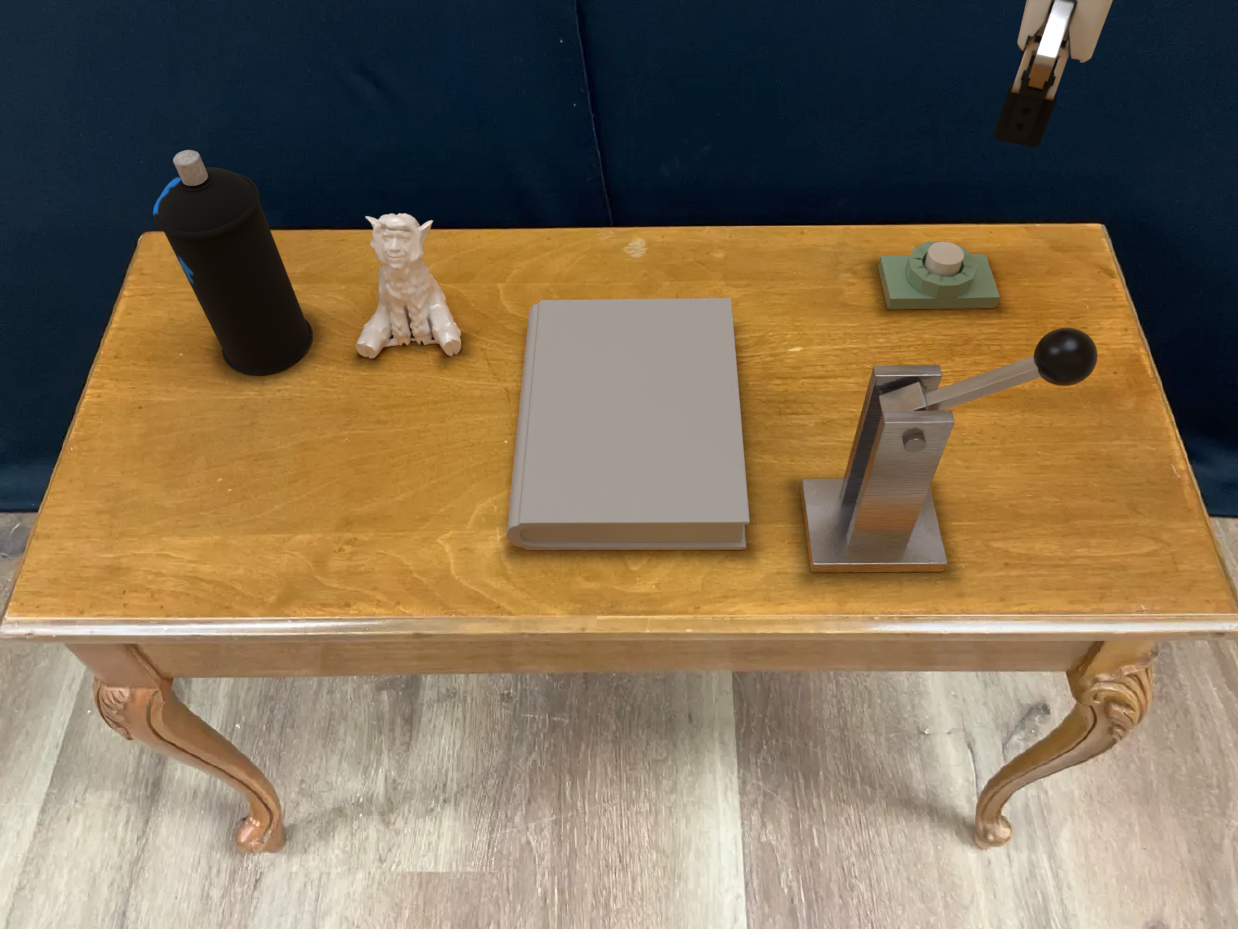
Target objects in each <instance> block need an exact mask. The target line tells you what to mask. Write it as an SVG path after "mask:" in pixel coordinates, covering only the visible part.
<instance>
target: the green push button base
mask: <svg viewBox="0 0 1238 929" xmlns="http://www.w3.org/2000/svg"><path fill="white" fill-rule="evenodd" d="M936 242H948V241H946V240H933V241H931V240H929V241H925V242H923V243H921V244H918V245H917V246H915V247H913V249H912V251H911V252H910V254H906V255H899V254H898V255H897V254H896V255H895V254H894V255H880V256H879V259H878V264H877V269H878V274H879V277H880V283H881V287H882V291H883V295H884V300H885V304H886V308H887V310H948V309H949V310H952V309H954V310H955V309H956V310H957V309H963V310H964V309H996V308H997V307H998V304H999V300H1000V298H1001V296H1000V293H999V291H998V287H997V284H996V280H995V277H994V275H993V272H992V268H991V266H990V263H989V260H988V257H987V254H984V253H978V254H977V253H973V254H972V253H971V252H970V251H968V249H966V248H965V247H964V246H962V245H959V244H956V245H957V246H959V247H960V248H961V249H962V250H963V252H964V258H963V261H962V264H961V267H960V270H959V272H958V273H957V274H955V275H954V276H950V277H942V276H939V275H936V274H933V273H930V272H929V271H928V270H927V269H926V267H925V259H926V256H927V252H928V249H929V247H930V246H931V245H932V244H934V243H936Z"/></svg>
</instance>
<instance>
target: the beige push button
mask: <svg viewBox="0 0 1238 929" xmlns="http://www.w3.org/2000/svg"><path fill="white" fill-rule="evenodd" d="M957 245H958V244H956V243H953V242H949V241H947V242H936V243H934V244H932V245H931V246H930V247H929V249H928V252H927V256H926V259H925V267H926V269H927V270H928V271H929V272H930V273H933V274H936V275H939V276H942V277H950V276H954V275H955V274H957V273H958V272H959V270H960V267H961V264H962V261H963V258H964V252H963V250H962V249H961V248H960V247H959V246H960V245H959V246H957Z"/></svg>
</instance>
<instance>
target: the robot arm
mask: <svg viewBox="0 0 1238 929" xmlns="http://www.w3.org/2000/svg"><path fill="white" fill-rule="evenodd" d="M1113 1H1114V0H1026V2H1025V5H1024V11H1023V16H1022V19H1021V24H1020V28H1019V33H1018V36H1017V37H1018V38H1017V43H1016V44H1017V46H1018V48H1019V49H1020V50H1021V51H1022V52H1021V55H1020V58H1019V61H1018V70H1017V73H1016V76H1015V79H1014V82H1013V83H1009V85H1008V89H1007V91H1006V94H1005V98H1004V101H1003V104H1002V108H1001V109H1000V113H999V116H998V119H997V122H996V124H995V128H994V131H993V138H994V139H995V140H996V141H1000V142H1005V143H1009V144H1014V145H1018V146H1023V147H1028V148H1030V149H1031V148H1032V149H1035V148H1038V147H1039V146H1040V145H1041V143H1042V140H1043V139H1044V138H1043V137H1044V135H1045V132H1046V130H1047V126H1048V125H1049V122H1050V119H1051V116H1052V115H1053V114H1052V113H1053V111H1054V108H1055V105H1056V103H1057V100H1058V97H1059V93H1058V92H1057V90H1058V87H1059V84H1060V82H1061V80H1062V79H1061V78H1062V76H1063V73H1064V70H1065V67H1066V65H1067V61H1068V59H1069V57H1070V58H1071V60H1077V61H1079V63H1086V62H1087V61H1089V60H1090V59H1092V57H1093V54H1094V52H1095V50H1096V46H1097V43H1098V41H1099V39H1100V35H1101V33H1102V30H1103V27H1104V25H1105V23H1106V19H1107V16H1108V14H1109V11H1110V8H1111V6H1112V3H1113Z"/></svg>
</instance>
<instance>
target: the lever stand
mask: <svg viewBox="0 0 1238 929" xmlns="http://www.w3.org/2000/svg"><path fill="white" fill-rule="evenodd" d="M942 378H943V372H942V368H941V365H940V364H896V365H895V364H892V365H891V364H890V365H889V364H887V365H883V364H882V365H881V364H879V365H873V366H872V370H871V374H870V377H869V381H868V385H867V389H866V392H865V397H864V400H863V403H862V408H861V411H860V415H859V418H858V422H857V425H856V426H857V427H856V431H855V434H854V437H853V438H854V439H853V442H852V446H851V449H850V453H849V456H848V460H847V464H846V468H845V472H844V475H843V478H842V477H841V478H802V479H801V481H800V486H799V491H800V500H801V506H802V514H803V515H802V516H803V522H804V530H805V537H806V545H807V552H808V553H807V554H808V561H809V570H810V573H929V572H930V573H932V572H933V573H939V572H941V573H943V572H944V573H945V571H946V568H947V566H948V564H949V563H948V558H947V554H946V549H945V544H944V541H943V536H942V531H941V528H940V523H939V519H938V515H937V511H936V506H935V503H934V502H935V501H934V498H933V494H932V493H933V492H932V489H931V484H932V483H933V479H934V477H935V474H936V472H937V469H938V468H939V464H940V461H941V459H942V457H943V454H944V451H945V450H946V446H947V444H948V441H949V439H950V436H951V433H952V430H953V429H954V426H955V423H956V422H955V417H954V413H953V410H943V411H883V413H882V410H881V405H880V400H879V396H880V395H883V394H886V393H888V392H891V391H894V390H897V389H900V388H902V387H905V386H908V385H911V384H914V383H917V382H920V383H921V385H922V387H923V389H924V391H925V393H928V392H930V391H933V390H936V389H939V386H940V384H941V381H942Z"/></svg>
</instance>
